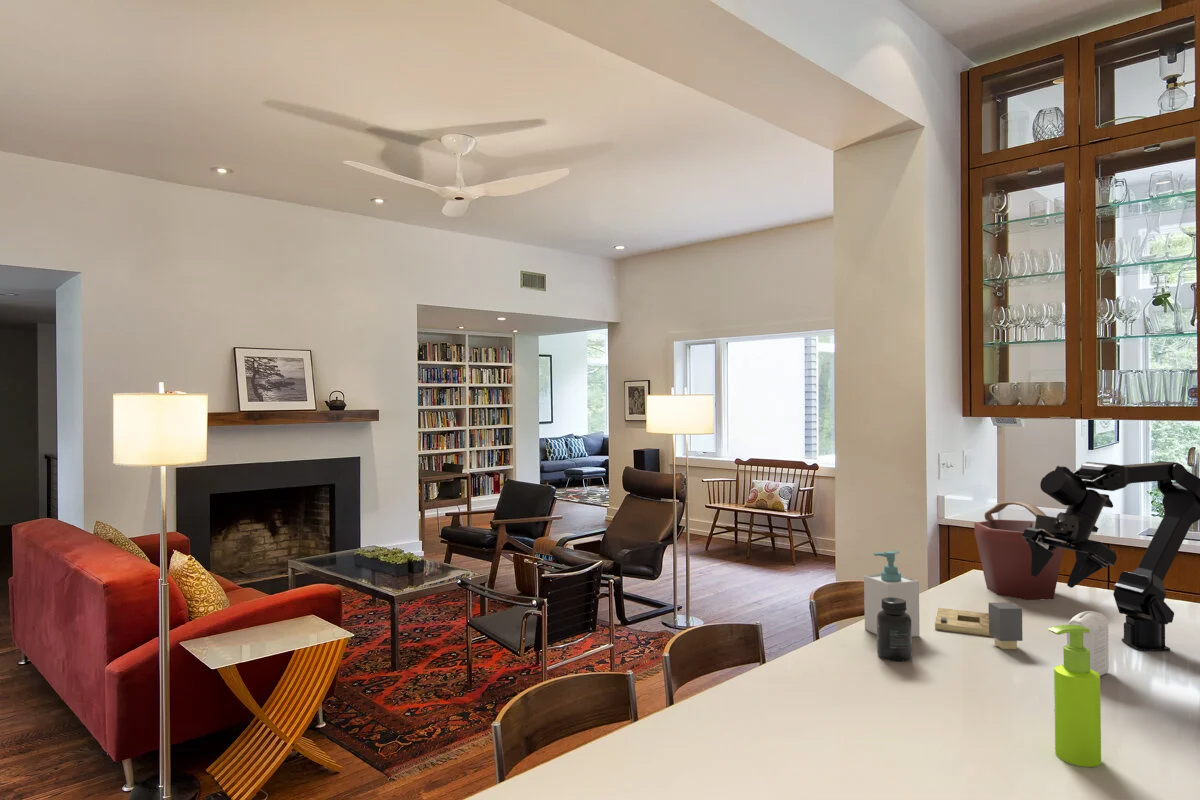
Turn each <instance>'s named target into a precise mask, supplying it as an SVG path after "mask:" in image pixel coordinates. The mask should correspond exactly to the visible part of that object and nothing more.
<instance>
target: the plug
mask: <svg viewBox="0 0 1200 800" xmlns="http://www.w3.org/2000/svg"><path fill="white" fill-rule="evenodd" d="M988 613H989V634H990V635H991V636H990V637H992V636H993V637H992V638H993V639H994V645H996V646H997V648H1000V649H1001V650H1017V649H1018V642H1022V641H1023V640H1024V639H1023V638H1024V637H1023V608H1021V607H1020V606H1018V605H1016V604H1015V603H1012V602H988Z"/></svg>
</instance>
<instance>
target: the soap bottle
mask: <svg viewBox="0 0 1200 800" xmlns="http://www.w3.org/2000/svg"><path fill="white" fill-rule="evenodd" d="M897 554H900V551H899V550H891V551H883V552H880V551H879V552H875V553H873V555H874V556H876V557H878V556H879V557H883V558H886V561H887V563H888V564H885V565H884V568H883V569H884V570H881V572H880V573H876V574H867V575H864V576H863V587H864V588H863V591H864V592H863V593H864V595H863V596H864V598H863V599H864V601H863V603H864V605H863V606H864V630H866V631H868V632H870V633H872V634H875V635H877V614H878V613H879V612H880V611H882V610H883V609H882V608H881V605H882V599H883V598H887V597H893V598H900V599H903V600H905V601H906V607H907V610H906V611H905V612H906V613H907V614H909V616H910V617H911V631H912V638H915V637H920V632H921V631H920V628H921V627H920V581H919V580H918V579H915V578H912V577H908V576H905V575H903V574H902V573H901V572H900V571H899V569H898V566H896V565H894V563H895V561H896V555H897Z"/></svg>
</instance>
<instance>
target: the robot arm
mask: <svg viewBox="0 0 1200 800" xmlns="http://www.w3.org/2000/svg"><path fill="white" fill-rule="evenodd" d="M1080 465H1081V467H1079V468H1078V469H1076V470H1074V471H1071V470H1070V469H1069V467H1067V466H1062V465H1057V466H1056V467H1055V470H1051V471H1050V472H1048V473H1047V474H1046V475H1044V477H1042V478H1041V481H1040V483H1039V485H1040V489H1041V491H1042V492H1043V493H1044V494H1046V495H1047V496H1049V497H1051V498H1052V499H1053V500H1055V501H1056V502H1058V503H1060V504H1061V505H1063V506H1067V508H1066V510H1065V512H1061V511H1060V512H1059V513H1057V515H1056V516H1049V515H1047V516H1044V515H1039V514H1037V516H1036V517H1035V521H1036V522H1035V528H1031V527H1029V528H1027V529H1025V531H1024V533H1023V535H1022V537H1023V538H1024V539H1025V542H1026V543H1028V544H1029V546H1030V548H1031V554H1032V560H1031V575H1032V576H1033V577H1036V576H1037V575H1038V574H1039V573H1040V572H1041V571H1042V569H1043V568H1044V567H1045V565H1046V564H1047V563H1048V561H1049V560H1050V559H1051V557H1052V556H1053V555H1054V553H1052V552H1051V551H1052V550H1054V549H1056V547H1059V548H1063V550H1067V551H1072V552H1074V553H1075V562H1074V565H1073V568H1072V570H1071V572H1070V575H1069V577H1068V580H1067V583H1066V584H1067V585H1066V586H1067V587H1069V588H1071V589H1072V588H1074V587H1075V586H1077V585H1078V584H1080V583H1081V582H1082V581H1084V580H1086V578H1088V577H1090V576H1091V575H1093V574H1094V573H1096V572H1098V571H1100V570H1101V569H1107V567H1108V566H1111V567H1114V565H1115V563H1116V561H1117V559H1118V557H1117V553H1116V551H1114V550H1113V549H1112V548H1110V547H1109V546H1107V545H1106V544H1104V543H1103V542H1101V541H1097V540H1093V539H1090V536H1091V535H1092V533H1098V530H1099V529H1100V528H1099V527H1097V526H1096V523H1097V521H1098V519H1099V517H1100V515H1101V513H1102V511H1103V508H1104V507H1105V508H1110V509H1113V507H1114V504H1113V502H1112V500H1111V498H1110V495H1109V494H1106V493H1099V492H1098V491H1096V490H1099V491H1100V490H1101V491H1108V492H1115V491H1119V490H1121V489H1124V488H1126V487H1127V486H1128V485H1130V484H1137V483H1149V482H1151V483H1153V482H1156V483H1157V489H1158V490H1159V492H1160V493H1161V494H1162V495H1163V498H1162V500H1161V503H1162V507H1163V511H1164V515H1163V517H1162V519H1161V521H1160V523H1159V524H1158V526H1157V529H1156V531H1155V532H1154V535H1153V537H1152V539H1151V540H1150V542H1149V544H1148V546H1147V549H1146V551H1145V552H1144V554H1143V556H1142V558H1141V560H1140V562H1139V564H1138V566H1137V567H1136V569H1134V570H1133V571H1131V572H1130V571H1126V570H1123V571H1122V572H1121V573H1120V575H1119V577H1118V580H1117V581H1116V583H1115V584H1113V587H1115V588H1114V590H1113V594H1112V595H1113V597H1114V600H1115V604H1116V607H1117V611H1118V613H1119V614H1120V615H1125V622H1124V623H1123V637H1122V638H1121V641H1122V642H1123V643H1125V644H1127V645H1129V646H1131V647H1133V648H1135V649H1137V650H1138V651H1162V652H1163V651H1168V652H1169V651H1171V647H1169V646H1166V625H1169V624H1171V623H1173V621H1174V617H1175V612H1174V610H1172V609H1171V607H1170V606H1169V605H1168V604H1167V602H1165V599H1166V596H1167V593H1166V589H1165V584H1164V583H1165V582H1164V580H1165V578H1166V575H1167V574H1168V572H1169V569H1170V568H1171V567H1172V563H1173V562H1174V560H1175V558H1176V556H1177V554H1178V552H1179V550H1180V548H1181V546H1182V544H1183V542H1184V540H1185V539H1186V536H1187V534H1188V532H1189V530H1190V528H1191V526H1192V525H1193V524H1194V523H1197V522H1198V521H1200V477H1198V476H1197V475H1195V474H1193V473H1192V472H1190V471H1188V469H1187V468H1186V467H1185V466H1184V465H1183V464H1181V463H1179V462H1176V461H1164V460H1163V461H1162V460H1160V461H1155V462H1148V463H1147V462H1146V463H1145V462H1143V463H1133V464H1113V463H1104V462H1103V463H1102V462H1093V461H1092V462H1091V461H1086V462H1083V463H1081V464H1080ZM1173 481H1174V482H1173ZM1041 529H1043V530H1045V531H1048V533H1050V534H1051V535H1054V536H1055V537H1052V536H1051V535H1049V534H1048V533H1046V532H1045V531H1043V530H1041ZM1061 543H1063V544H1061Z"/></svg>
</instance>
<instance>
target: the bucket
mask: <svg viewBox="0 0 1200 800" xmlns="http://www.w3.org/2000/svg"><path fill="white" fill-rule="evenodd" d="M1010 505H1016V506H1017V505H1018V506H1020V507H1023V508H1025V509H1026V510H1027V511H1029V513H1030V514H1033V516H1035V518H1036V516H1037V514H1039V515H1044V516H1048V515H1046V514H1045V512H1044V511H1042V510H1041V509H1040V508H1039V507H1037V506H1036V505H1034V504H1031V503H1029V502H1024V501H1002V502H998V503H997V504H995V505H994V506H993V507H991V508H989V509H988V510H986V511H985V512H984V514H983V515H984V520H982V521H976V522H974V523H973V524H974V536H975V541H976V545H977V550H978V555H979V559H980V563H981V567H982V572H983V576H984V582H985V585H986V589H987V590H989V591H990V592H992V593H994V594H995V595H997V596H1001V597H1006V598H1012V599H1019V600H1023V601H1037V600H1038V601H1041V600H1040V599H1045V600H1054V598H1055V593H1056V589H1057V583H1058V578H1059V573H1060V569H1061V563H1062V558H1063V552H1064V549H1063V548H1059V547H1056V549H1054V550H1052V551H1051V552H1052V553H1054V555H1053V556H1052V557H1051V559H1050V560H1049V561H1048V563H1047V564H1046V565H1045V567H1044V568H1043V569H1042V571H1041V572H1040V573H1039V574H1038V575H1037V576H1036V577H1033V576H1032V575H1031V560H1032V554H1031V548H1030V546H1029V544H1028V543H1026V542H1025V539H1024V538H1023V537H1022V535H1023V533H1024V531H1025V529H1027V528H1029V527H1031V528H1035V522H1036V520H1020V519H1019V520H1018V519H996V518H994V517H993V515H992V514H996V513H1000V512H1001V511H1002V510H1004V509H1005V508H1006V507H1007V506H1010ZM1041 530H1043V529H1041ZM1043 531H1045V530H1043ZM1045 532H1046V533H1048V531H1045ZM1048 534H1049V535H1051V534H1050V533H1048ZM1051 536H1052V537H1055V536H1054V535H1051ZM1061 544H1063V543H1061Z"/></svg>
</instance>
